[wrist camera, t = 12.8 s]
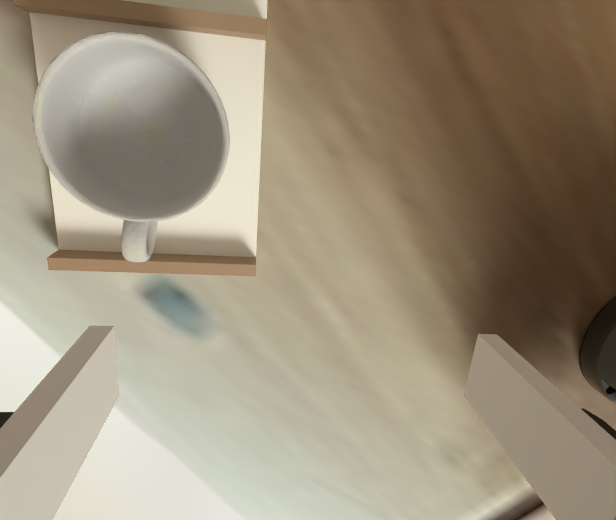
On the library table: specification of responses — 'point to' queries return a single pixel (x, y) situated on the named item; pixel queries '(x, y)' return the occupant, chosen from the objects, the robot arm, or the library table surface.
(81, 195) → the teacup
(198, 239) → the beige tray
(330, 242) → the library table surface
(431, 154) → the library table surface
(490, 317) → the library table surface
